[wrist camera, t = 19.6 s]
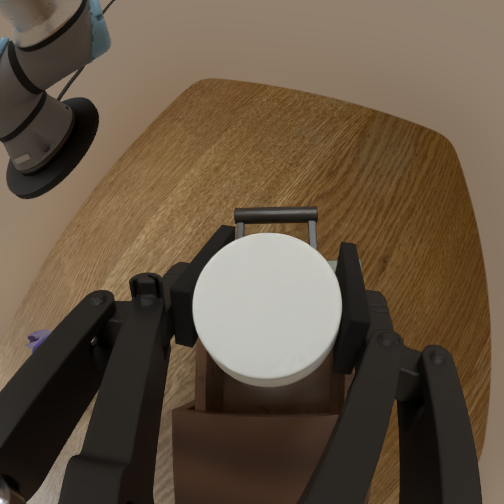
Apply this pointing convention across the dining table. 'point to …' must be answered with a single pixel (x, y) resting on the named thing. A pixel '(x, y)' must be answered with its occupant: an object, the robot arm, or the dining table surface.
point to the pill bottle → (267, 309)
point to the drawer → (283, 397)
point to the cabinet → (246, 455)
